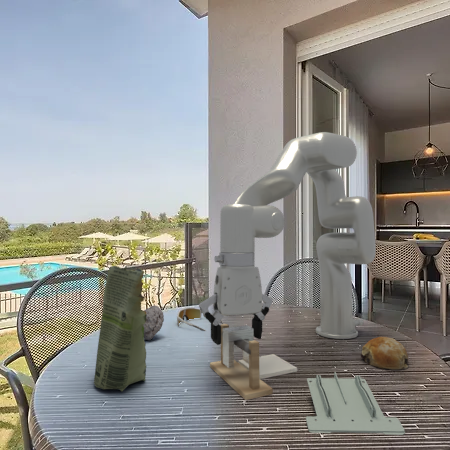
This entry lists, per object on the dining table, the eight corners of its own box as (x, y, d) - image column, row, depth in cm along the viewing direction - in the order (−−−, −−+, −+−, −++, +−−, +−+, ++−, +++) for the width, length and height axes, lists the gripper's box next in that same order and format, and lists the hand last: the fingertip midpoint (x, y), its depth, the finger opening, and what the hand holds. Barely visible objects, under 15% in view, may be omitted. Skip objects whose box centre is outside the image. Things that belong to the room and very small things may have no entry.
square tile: (273, 357, 87) (273, 354, 87) (297, 371, 78) (297, 367, 78) (238, 363, 83) (238, 360, 83) (259, 379, 74) (259, 375, 74)
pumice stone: (159, 333, 109) (158, 301, 109) (168, 339, 102) (168, 306, 102) (126, 338, 103) (126, 305, 104) (134, 345, 97) (134, 310, 97)
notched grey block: (247, 358, 77) (247, 325, 77) (253, 363, 74) (253, 328, 74) (222, 363, 74) (222, 328, 75) (228, 368, 72) (228, 331, 72)
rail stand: (210, 366, 81) (209, 324, 81) (232, 362, 84) (232, 321, 84) (245, 400, 65) (245, 346, 65) (272, 393, 67) (272, 342, 67)
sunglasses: (195, 317, 130) (196, 304, 130) (227, 329, 121) (228, 315, 121) (168, 325, 119) (170, 311, 118) (201, 339, 110) (203, 324, 109)
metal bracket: (295, 367, 67) (374, 367, 66) (295, 392, 68) (371, 393, 67) (311, 428, 53) (410, 430, 52) (309, 458, 54) (406, 460, 54)
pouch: (104, 371, 79) (105, 262, 79) (156, 372, 78) (156, 262, 79) (83, 394, 67) (84, 267, 68) (143, 395, 67) (143, 267, 68)
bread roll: (397, 388, 77) (414, 359, 76) (354, 361, 82) (368, 333, 81) (401, 373, 86) (416, 346, 84) (361, 349, 91) (375, 323, 89)
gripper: (206, 263, 68) (206, 350, 67) (280, 261, 75) (280, 340, 74) (194, 260, 75) (193, 340, 74) (262, 259, 82) (262, 331, 81)
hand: (237, 340), depth 74 cm, fingers open, 9 cm apart
